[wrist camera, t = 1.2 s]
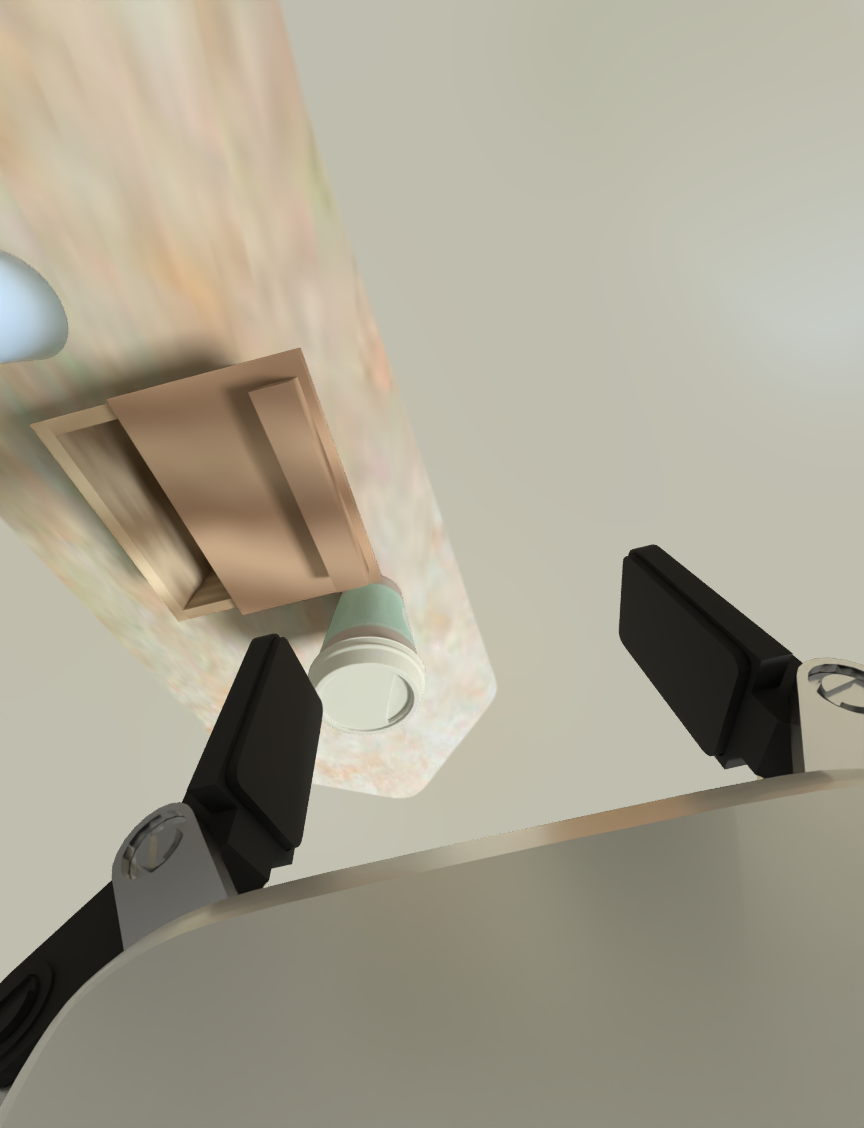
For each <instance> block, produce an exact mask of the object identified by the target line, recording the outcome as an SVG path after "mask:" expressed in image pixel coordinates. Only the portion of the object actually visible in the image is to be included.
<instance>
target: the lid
mask: <svg viewBox="0 0 864 1128" xmlns="http://www.w3.org/2000/svg"><path fill="white" fill-rule="evenodd" d="M106 400H107V402H108V404H109V405H110V407H111V408H112V410H113V411H114V413H115V415H116V416H117V418H118V419H119V421H120V422H121V424H122V426H123V427H124V429H125V430H126V432H127V434H128V435H129V437H130V438H131V440H132V441H133V443H134V445H135V446H136V448H137V449H138V451H139V452H140V454H141V456H142V457H143V459H144V460H145V462H146V464H147V465H148V467H149V468H150V470H151V471H152V473H153V475H154V476H155V478H156V479H157V481H158V482H159V484H160V486H161V487H162V489H163V490H164V492H165V494H166V495H167V497H168V498H169V500H170V501H171V503H172V505H173V506H174V508H175V509H176V511H177V512H178V514H179V516H180V517H181V519H182V520H183V522H184V524H185V525H186V527H187V528H188V530H189V531H190V533H191V535H192V536H193V538H194V539H195V541H196V542H197V544H198V546H199V547H200V549H201V550H202V552H203V553H204V555H205V557H206V558H207V560H208V561H209V563H210V565H211V566H212V568H213V569H214V571H215V572H216V574H217V576H218V577H219V579H220V580H221V582H222V583H223V585H224V587H225V588H226V590H227V591H228V593H229V595H230V596H231V598H232V599H233V601H234V602H235V604H236V606H237V607H238V609H239V610H240V612H241V613H242V615H245V614H249V613H253V612H257V611H261V610H266V609H270V608H274V607H278V606H282V605H286V604H290V603H294V602H298V601H302V600H306V599H310V598H314V597H318V596H322V595H326V594H331V593H335V592H337V593H339V592H343V591H347V590H351V589H355V588H359V587H363V586H367V585H368V584H371V583H375V582H379V581H381V573H380V570H379V567H378V564H377V561H376V559H375V556H374V553H373V550H372V547H371V545H370V542H369V539H368V536H367V533H366V531H365V528H364V525H363V522H362V519H361V517H360V514H359V511H358V508H357V505H356V502H355V500H354V497H353V494H352V491H351V488H350V486H349V483H348V480H347V477H346V474H345V472H344V469H343V466H342V463H341V460H340V458H339V455H338V452H337V449H336V446H335V444H334V441H333V438H332V435H331V432H330V430H329V427H328V424H327V421H326V418H325V415H324V413H323V410H322V407H321V404H320V401H319V399H318V396H317V393H316V390H315V387H314V385H313V382H312V379H311V376H310V373H309V371H308V368H307V365H306V362H305V359H304V357H303V354H302V351H301V348H297V349H293V350H289V351H285V352H281V353H278V354H274V355H270V356H266V357H263V358H259V359H255V360H251V361H248V362H244V363H240V364H236V365H233V366H229V367H225V368H221V369H218V370H214V371H210V372H206V373H203V374H199V375H195V376H191V377H188V378H184V379H180V380H176V381H173V382H169V383H165V384H161V385H157V386H154V387H150V388H146V389H142V390H139V391H135V392H131V393H127V394H124V395H120V396H116V397H112V398H109V399H106Z"/></svg>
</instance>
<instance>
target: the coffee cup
mask: <svg viewBox="0 0 864 1128" xmlns="http://www.w3.org/2000/svg"><path fill="white" fill-rule="evenodd" d="M308 678H309V679H310V681H311V683H312V685H313V687H314V688H315V690H316V692H317V694H318V695H319V697H320V699H321V701H322V705H323V716H322V721H323V722H324V723H325V724H327V725H328V726H330V727H332V728H334V729H336V730H338V731H342V732H345V733H349V734H357V735H372V734H379V733H383V732H387V731H390V730H393V729H395V728H397V727H399V726H401V725H402V724H404V723H405V722H407V721H408V720H409V719H410V718H411V717H412V716H413V715H414V713H415V712H416V710H417V709H418V706H419V703H420V699H421V697H422V695H423V692H424V689H425V680H426V672H425V668H424V665H423V663H422V661H421V659H420V658H419V657H418V656H417V652H416V648H415V644H414V640H413V636H412V632H411V628H410V624H409V621H408V617H407V613H406V609H405V605H404V601H403V597H402V594H401V591H400V589H399V587H398V586H397V585H396V584H395V583H394V582H393V581H392V580H390V579H388V578H386V577H384V576H381V581H379V582H375V583H371V584H368V585H367V586H363V587H359V588H355V589H351V590H347V591H343V592H342V594H341V596H340V599H339V602H338V604H337V607H336V610H335V612H334V615H333V618H332V621H331V623H330V626H329V629H328V631H327V634H326V637H325V640H324V642H323V645H322V648H321V650H320V653H319V655H318V656H317V657H316V658H315V660H314V661H313V663H312V665H311V667H310V669H309V673H308Z"/></svg>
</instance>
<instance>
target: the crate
mask: <svg viewBox="0 0 864 1128" xmlns="http://www.w3.org/2000/svg"><path fill="white" fill-rule="evenodd" d="M29 425H30V426H31V427H32V429H33V430H34V431H35V433H36V434H37V435H38V437H39V438H40V439H41V441H42V442H43V443H44V445H45V446H46V447H47V449H48V450H49V451H50V453H51V454H52V455H53V456H54V458H55V459H56V460H57V462H58V463H59V464H60V466H61V467H62V468H63V470H64V471H65V472H66V474H67V475H68V476H69V478H70V479H71V480H72V482H73V483H74V484H75V485H76V487H77V488H78V489H79V491H80V492H81V493H82V495H83V496H84V497H85V499H86V500H87V501H88V503H89V504H90V505H91V507H92V508H93V509H94V511H95V512H96V513H97V515H98V516H99V517H100V518H101V520H102V521H103V522H104V524H105V525H106V526H107V528H108V529H109V530H110V532H111V533H112V534H113V536H114V537H115V538H116V540H117V541H118V542H119V544H120V545H121V546H122V547H123V549H124V550H125V551H126V553H127V554H128V555H129V557H130V558H131V559H132V561H133V562H134V563H135V565H136V566H137V567H138V569H139V570H140V571H141V573H142V574H143V575H144V577H145V578H146V579H147V580H148V582H149V583H150V584H151V586H152V587H153V588H154V590H155V591H156V592H157V594H158V595H159V596H160V598H161V599H162V600H163V602H164V603H165V604H166V606H167V607H168V608H169V610H170V611H171V612H172V613H173V615H174V616H175V617H176V619H177V620H178V621H183V620H187V619H191V618H195V617H199V616H203V615H207V614H211V613H215V612H219V611H223V610H227V609H231V608H235V607H237V606H236V604H235V602H234V601H233V599H232V598H231V596H230V595H229V593H228V591H227V590H226V588H225V587H224V585H223V583H222V582H221V580H220V579H219V577H218V576H217V574H216V572H215V571H214V569H213V568H212V566H211V565H210V563H209V561H208V560H207V558H206V557H205V555H204V553H203V552H202V550H201V549H200V547H199V546H198V544H197V542H196V541H195V539H194V538H193V536H192V535H191V533H190V531H189V530H188V528H187V527H186V525H185V524H184V522H183V520H182V519H181V517H180V516H179V514H178V512H177V511H176V509H175V508H174V506H173V505H172V503H171V501H170V500H169V498H168V497H167V495H166V494H165V492H164V490H163V489H162V487H161V486H160V484H159V482H158V481H157V479H156V478H155V476H154V475H153V473H152V471H151V470H150V468H149V467H148V465H147V464H146V462H145V460H144V459H143V457H142V456H141V454H140V452H139V451H138V449H137V448H136V446H135V445H134V443H133V441H132V440H131V438H130V437H129V435H128V434H127V432H126V430H125V429H124V427H123V426H122V424H121V422H120V421H119V419H118V418H117V416H116V415H115V413H114V411H113V410H112V408H111V407H110V405H109V404H108V403H107V404H103V405H99V406H95V407H92V408H88V409H84V410H81V411H77V412H73V413H70V414H66V415H62V416H58V417H55V418H51V419H47V420H44V421H40V422H36V423H32V424H29Z"/></svg>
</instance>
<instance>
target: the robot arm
mask: <svg viewBox="0 0 864 1128" xmlns="http://www.w3.org/2000/svg"><path fill="white" fill-rule="evenodd" d="M619 636H620V639H621V641H622V643H623V645H624V646H625V648H626V649H627V650H628V652H629V653H630V654H631V656H632V657H633V658H634V660H635V661H636V662H637V663H638V665H639V666H640V667H641V669H642V670H643V672H644V673H645V674H646V676H647V677H648V678H649V679H650V681H651V682H652V684H653V685H654V686H655V688H656V689H657V690H658V692H659V693H660V694H661V696H662V697H663V698H664V700H665V701H666V702H667V704H668V705H669V706H670V707H671V709H672V710H673V712H674V713H675V714H676V716H677V717H678V718H679V719H680V721H681V722H682V723H683V725H684V726H685V727H686V729H687V730H688V732H689V733H690V734H691V736H692V737H693V738H694V739H695V741H696V742H697V743H698V745H699V746H700V747H701V749H702V750H703V751H704V752H705V753H706V754H707V755H709V756H715V758H716V759H717V760H718V761H719V763H720V764H721V765H722V767H723V768H724V769H728V768H733V767H737V766H742V765H748V766H749V768H750V769H751V770H752V771H753V772H754V774H756V775H757V780H756V781H751V782H746V783H741V784H736V785H730V786H725V787H720V788H715V789H710V790H705V791H700V792H695V793H690V794H685V795H680V796H676V797H671V798H666V799H662V800H657V801H652V802H647V803H643V804H638V805H633V806H629V807H624V808H619V809H614V810H610V811H605V812H600V813H596V814H591V815H587V816H582V817H577V818H572V819H568V820H563V821H558V822H554V823H549V824H545V825H540V826H536V827H531V828H526V829H522V830H517V831H512V832H508V833H503V834H499V835H494V836H489V837H485V838H480V839H476V840H471V841H467V842H462V843H457V844H453V845H448V846H444V847H440V848H435V849H430V850H426V851H422V852H417V853H413V854H408V855H403V856H399V857H394V858H390V859H386V860H381V861H377V862H372V863H368V864H363V865H359V866H354V867H350V868H345V869H341V870H337V871H332V872H327V873H323V874H319V875H315V876H311V877H307V878H302V879H298V880H294V881H290V882H286V883H282V884H278V885H274V886H270V887H269V886H268V883H267V882H268V881H269V877H270V872H271V868H276V867H281V866H285V865H290V864H292V861H293V855H294V850H295V848H296V847H298V846H299V845H300V844H301V841H302V837H303V831H304V825H305V819H306V813H307V807H308V801H309V795H310V789H311V783H312V777H313V771H314V765H315V759H316V753H317V747H318V740H319V734H320V728H321V722H322V716H323V705H322V701H321V699H320V697H319V695H318V694H317V692H316V690H315V688H314V687H313V685H312V683H311V681H310V679H309V678H308V676H307V674H306V672H305V671H304V669H303V667H302V665H301V663H300V662H299V660H298V658H297V656H296V655H295V653H294V651H293V649H292V648H291V646H290V644H289V642H288V640H287V639H286V638H285V637H281V638H280V637H279V635H277V634H270V635H266V636H262V637H257V638H254V639H253V640H252V641H251V643H250V645H249V648H248V650H247V652H246V655H245V657H244V659H243V662H242V664H241V666H240V669H239V671H238V673H237V675H236V678H235V680H234V682H233V685H232V687H231V689H230V692H229V694H228V696H227V699H226V701H225V703H224V705H223V708H222V710H221V712H220V715H219V717H218V719H217V722H216V724H215V726H214V728H213V731H212V733H211V735H210V738H209V740H208V742H207V745H206V747H205V749H204V752H203V754H202V756H201V758H200V761H199V763H198V765H197V768H196V770H195V772H194V775H193V777H192V780H191V782H190V784H189V786H188V788H187V792H186V794H185V797H184V799H183V801H182V803H181V802H178V803H171V804H168V805H166V806H163V807H161V808H158V809H157V810H155V811H154V812H153V813H151V814H149V815H148V816H147V817H145V818H144V819H143V820H142V821H141V822H140V823H139V824H138V825H137V826H136V827H135V828H134V829H133V830H132V831H131V833H130V834H129V835H128V837H127V838H126V839H125V840H124V842H123V844H122V845H121V847H120V849H119V851H118V852H117V854H116V857H115V860H114V863H113V866H112V881H111V882H109V883H108V884H107V885H106V886H105V887H104V888H103V889H102V890H101V891H100V892H98V893H97V894H96V895H95V896H94V897H93V898H92V899H91V900H90V901H89V902H87V904H85V905H84V906H83V907H82V908H81V909H80V910H79V911H78V912H77V913H75V914H74V915H73V916H72V917H71V918H70V919H69V920H68V921H67V922H66V923H65V924H64V925H62V926H61V927H60V928H59V929H58V930H57V931H56V932H55V933H54V934H53V935H52V936H50V937H49V938H48V939H47V940H46V941H45V942H44V943H43V944H42V945H40V946H39V947H38V948H37V949H36V950H35V951H34V952H33V953H32V954H31V955H29V956H28V957H27V958H26V959H25V960H24V961H23V962H22V963H21V964H20V965H19V966H17V967H16V968H15V969H14V970H13V971H12V972H11V973H10V974H9V975H8V976H7V977H6V978H5V979H4V980H3V981H2V982H1V983H0V1128H864V665H862V664H858V663H854V662H851V661H847V660H843V659H835V658H815V659H812V660H809V661H806V662H804V663H802V662H801V661H799V660H798V659H797V658H796V657H795V656H793V655H792V653H791V652H790V651H789V650H787V649H786V648H785V647H784V646H783V645H781V644H780V643H779V642H778V641H776V640H775V639H774V638H772V637H771V636H770V635H769V634H768V633H766V632H765V631H764V630H763V629H761V628H760V627H759V626H758V625H756V624H755V623H754V622H752V621H751V620H750V619H749V618H747V617H746V616H745V615H744V614H742V613H741V612H740V611H739V610H737V609H736V608H735V607H734V606H732V605H731V604H730V603H729V602H727V601H726V600H725V599H724V598H722V597H721V596H720V595H719V594H717V593H716V592H715V591H714V590H712V589H711V588H710V587H708V586H707V585H706V584H705V583H703V582H702V581H701V580H700V579H699V578H697V577H696V576H695V575H694V574H692V573H691V572H690V571H689V570H687V569H686V568H685V567H684V566H682V565H681V564H680V563H679V562H677V561H676V560H675V559H673V558H672V557H671V556H670V555H669V554H667V553H666V552H665V551H664V550H662V549H661V548H660V547H658V546H657V545H649V546H645V547H640V548H636V549H632V550H630V552H629V555H628V556H626V557H625V558H624V559H623V570H622V588H621V604H620V620H619Z"/></svg>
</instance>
